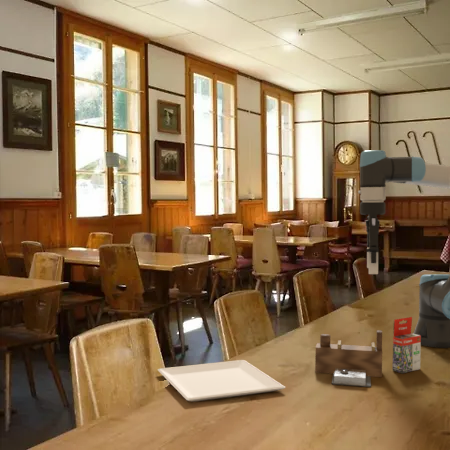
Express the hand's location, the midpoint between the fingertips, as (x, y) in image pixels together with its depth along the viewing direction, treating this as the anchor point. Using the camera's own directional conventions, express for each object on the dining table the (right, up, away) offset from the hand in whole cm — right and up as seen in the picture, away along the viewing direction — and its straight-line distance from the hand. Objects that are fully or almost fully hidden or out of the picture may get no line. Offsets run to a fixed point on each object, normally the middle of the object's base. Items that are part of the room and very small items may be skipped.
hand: (372, 271), depth 188 cm
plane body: (-11, -27, -16) cm, 33 cm away
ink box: (+6, -27, -14) cm, 31 cm away
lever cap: (-12, -27, -25) cm, 39 cm away
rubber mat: (-11, -28, -24) cm, 38 cm away
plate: (-47, -28, -27) cm, 61 cm away
